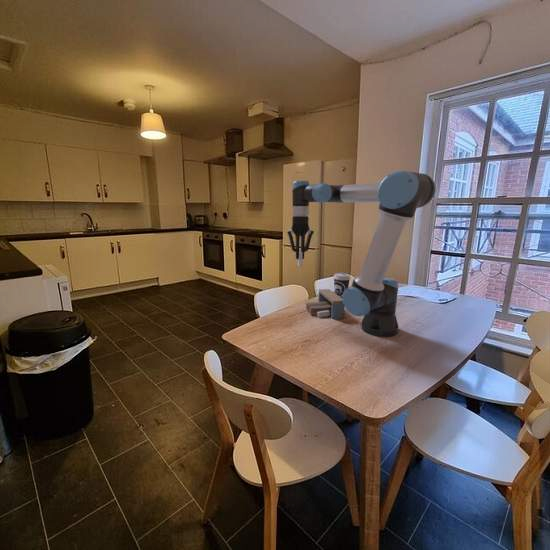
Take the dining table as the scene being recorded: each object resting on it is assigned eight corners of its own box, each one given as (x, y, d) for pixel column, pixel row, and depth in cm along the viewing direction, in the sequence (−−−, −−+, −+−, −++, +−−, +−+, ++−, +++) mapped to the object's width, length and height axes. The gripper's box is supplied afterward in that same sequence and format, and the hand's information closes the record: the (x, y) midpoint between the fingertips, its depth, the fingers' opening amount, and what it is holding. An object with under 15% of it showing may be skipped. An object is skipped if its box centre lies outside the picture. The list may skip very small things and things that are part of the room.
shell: (334, 314, 145) (334, 306, 145) (310, 316, 143) (311, 308, 143) (327, 308, 154) (328, 301, 153) (305, 309, 152) (306, 302, 151)
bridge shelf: (343, 317, 140) (344, 300, 138) (319, 319, 138) (320, 301, 136) (328, 304, 160) (329, 289, 158) (307, 305, 157) (307, 290, 155)
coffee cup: (351, 302, 162) (352, 276, 159) (333, 302, 162) (334, 276, 159) (347, 297, 171) (348, 272, 168) (330, 297, 171) (331, 272, 168)
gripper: (311, 215, 140) (310, 263, 145) (284, 215, 138) (284, 264, 143) (316, 215, 133) (315, 266, 138) (288, 216, 131) (288, 267, 136)
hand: (299, 265), depth 140 cm, fingers closed
